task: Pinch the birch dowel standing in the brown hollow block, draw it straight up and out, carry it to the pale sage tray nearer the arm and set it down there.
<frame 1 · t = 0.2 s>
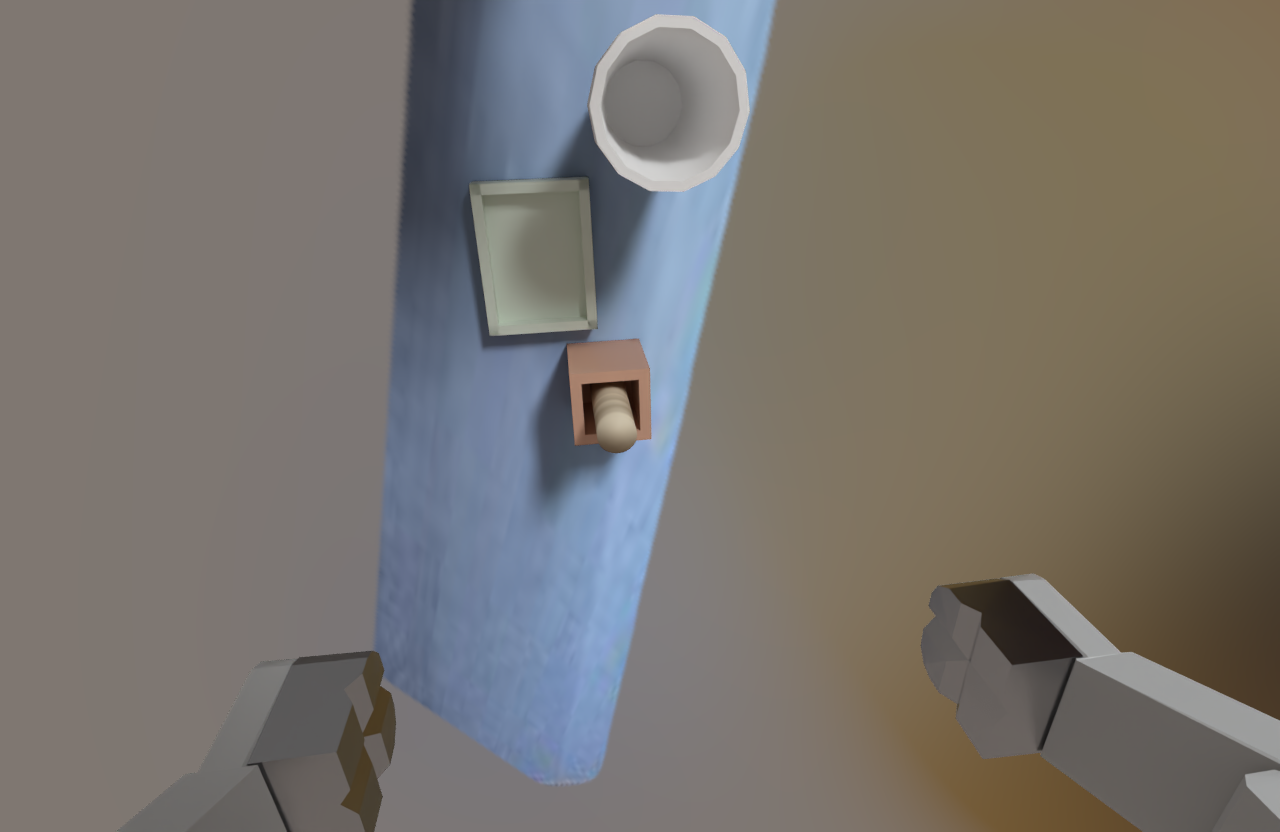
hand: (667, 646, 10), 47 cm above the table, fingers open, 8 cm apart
tray: (537, 256, 53), on the table
brown hollow block: (604, 374, 59), on the table
dowel: (605, 377, 58), point 1 cm above the table, touching brown hollow block
foam cup: (641, 104, 50), on the table
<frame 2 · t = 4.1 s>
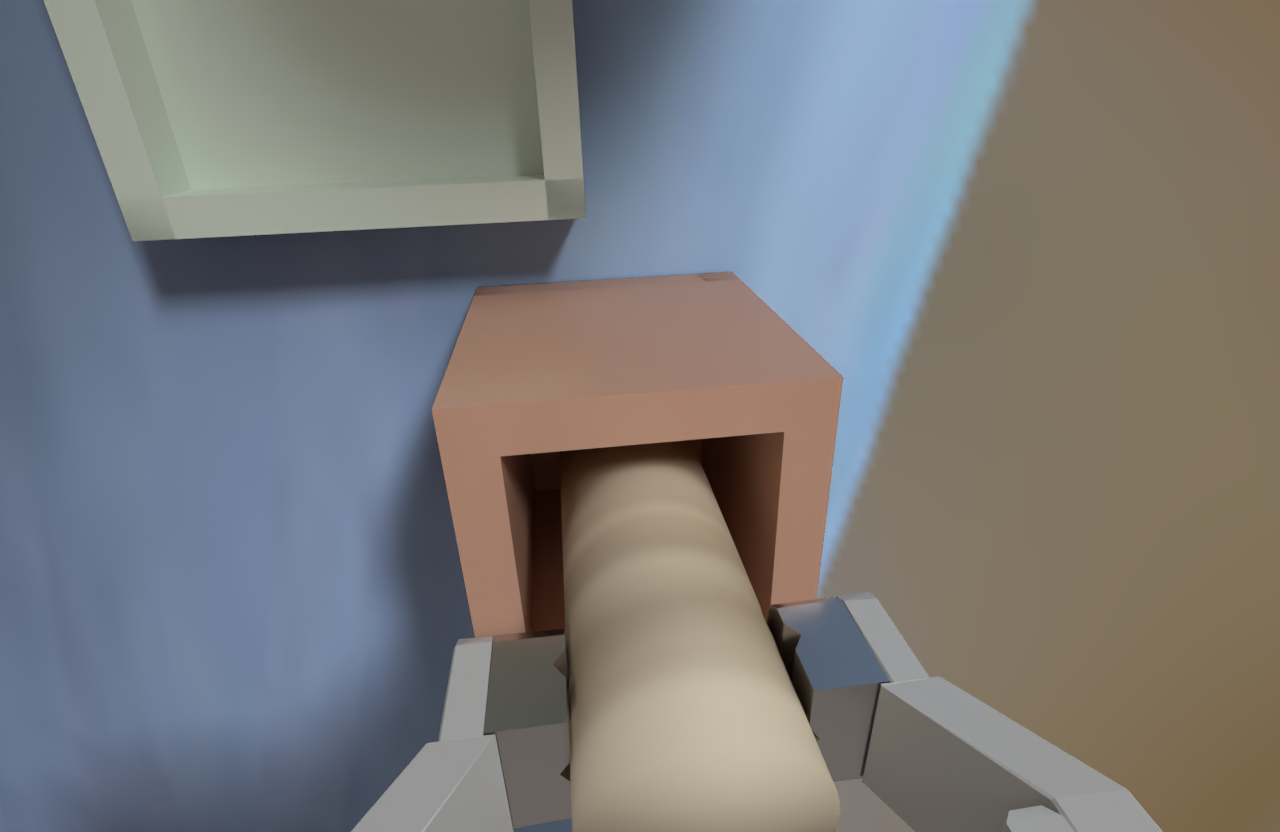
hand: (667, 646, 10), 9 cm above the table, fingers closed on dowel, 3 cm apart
brown hollow block: (613, 395, 18), on the table
dowel: (615, 408, 17), point 1 cm above the table, touching brown hollow block, gripper
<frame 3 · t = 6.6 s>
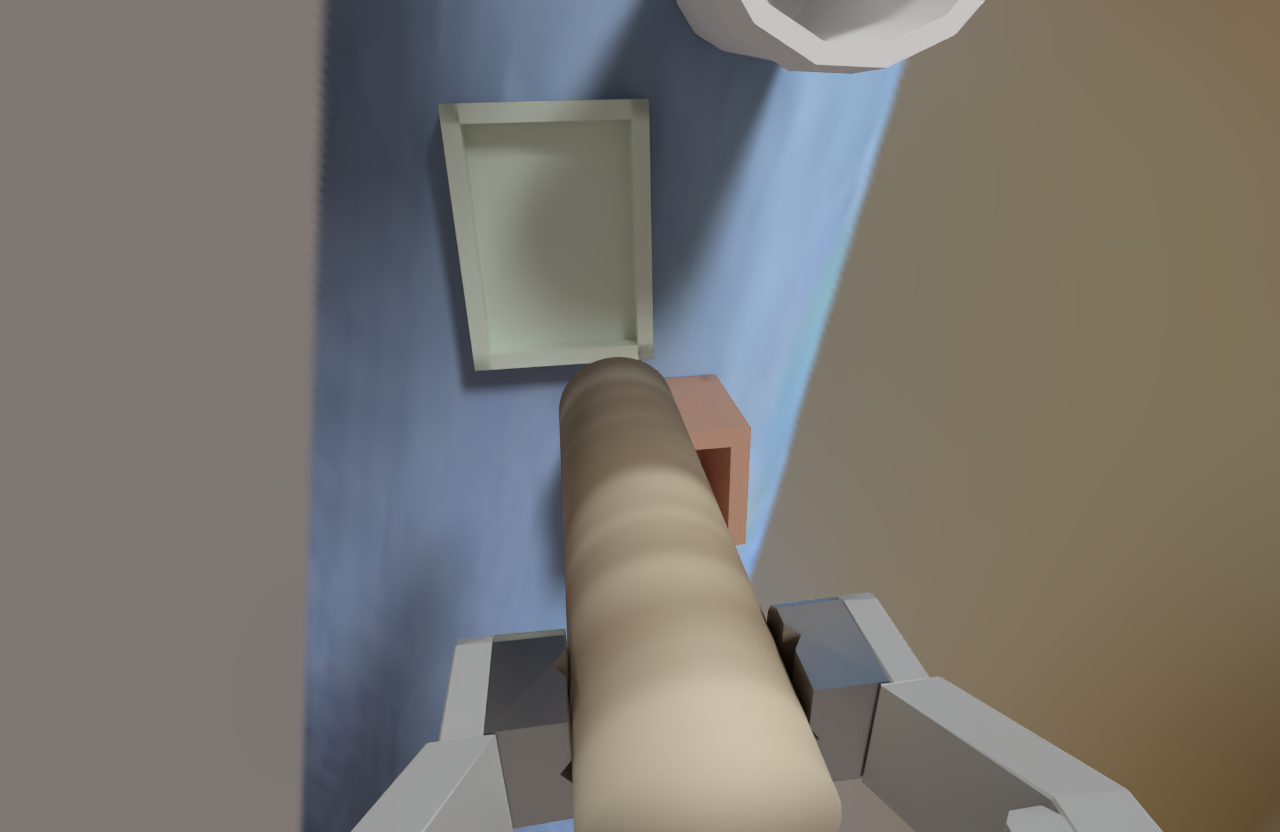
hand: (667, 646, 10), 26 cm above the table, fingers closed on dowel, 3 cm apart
tray: (555, 237, 32), on the table
brown hollow block: (659, 431, 37), on the table
dowel: (616, 410, 17), point 18 cm above the table, touching gripper
when the fingers open (10 cm above the table, at t = 9.2 s): dowel drops 1 cm, resting on tray.
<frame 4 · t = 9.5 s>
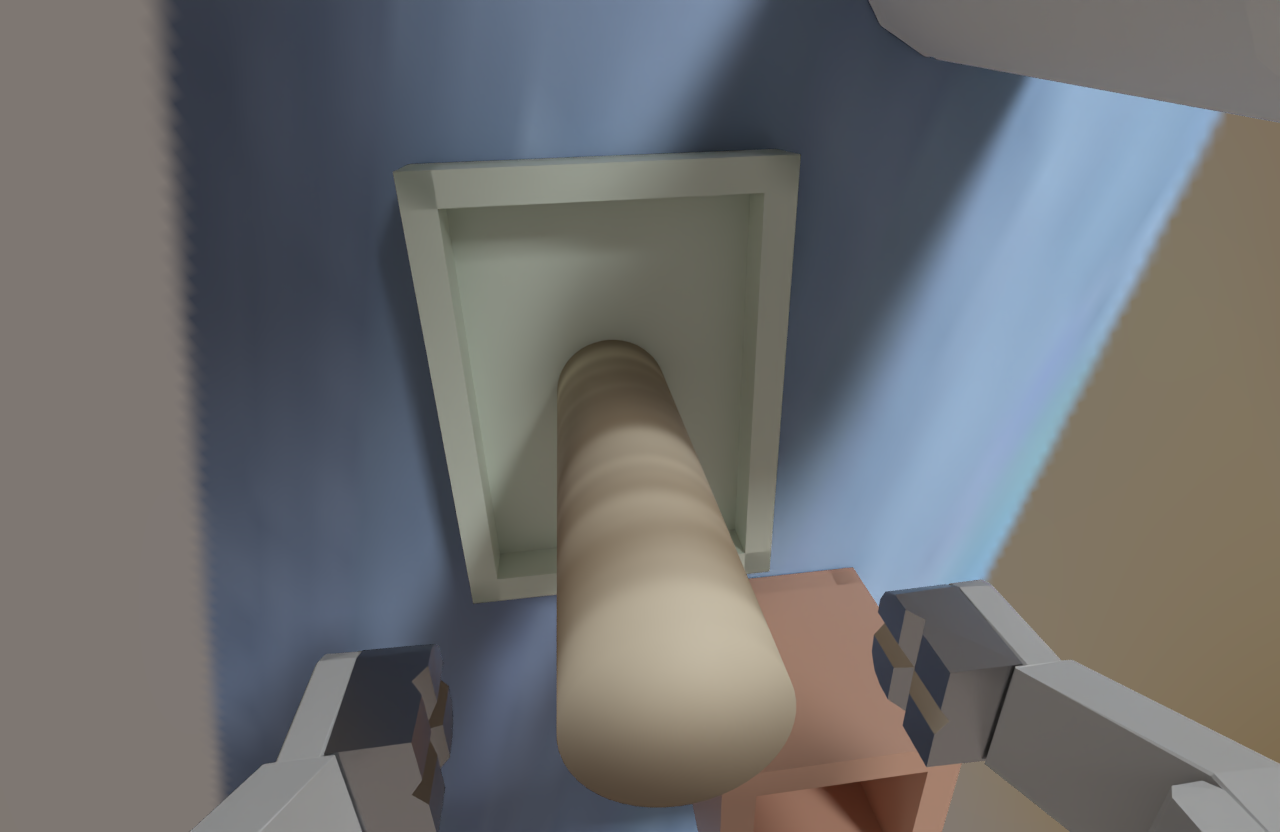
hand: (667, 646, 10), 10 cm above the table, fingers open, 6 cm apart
tray: (609, 381, 19), on the table
brown hollow block: (759, 645, 24), on the table
dowel: (611, 391, 18), point 1 cm above the table, touching tray
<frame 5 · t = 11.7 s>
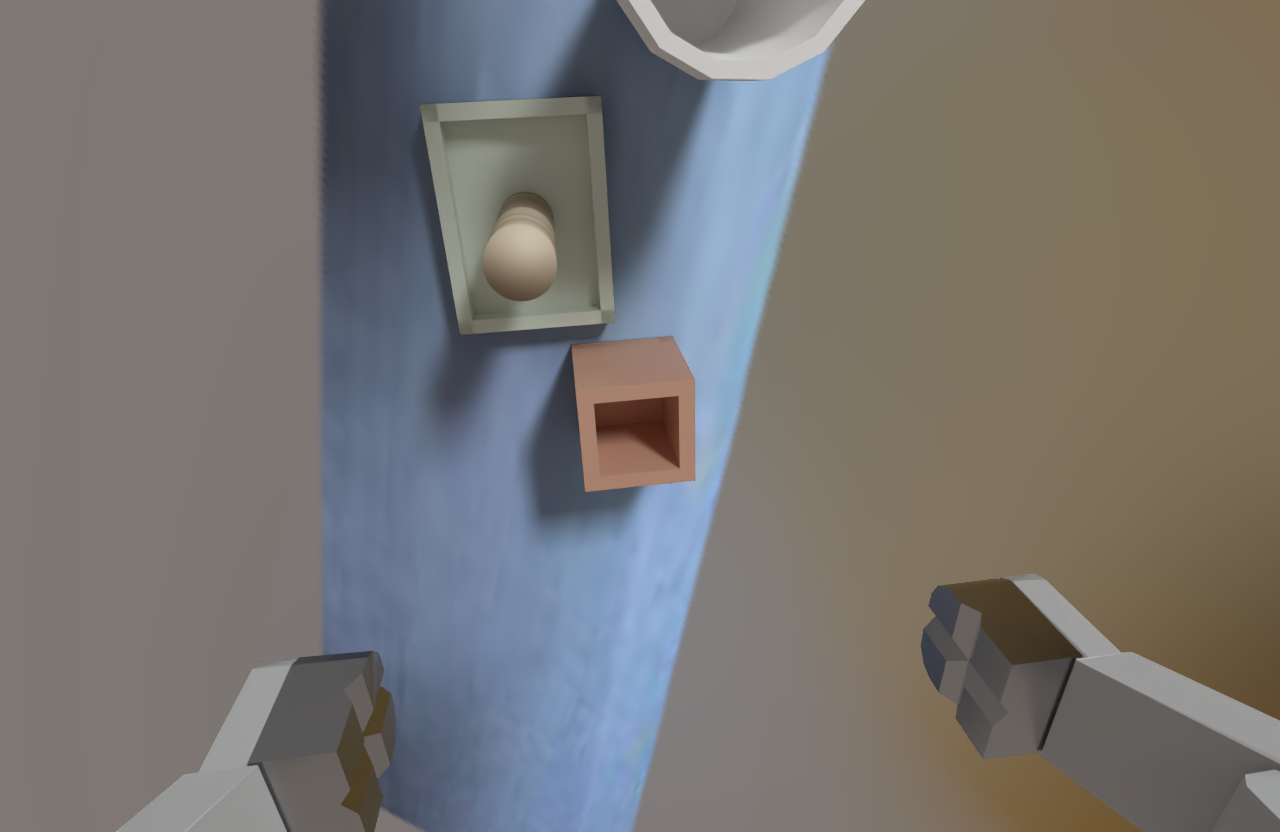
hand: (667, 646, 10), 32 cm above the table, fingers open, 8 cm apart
tray: (527, 217, 37), on the table
brown hollow block: (624, 386, 42), on the table
dowel: (526, 220, 36), point 1 cm above the table, touching tray
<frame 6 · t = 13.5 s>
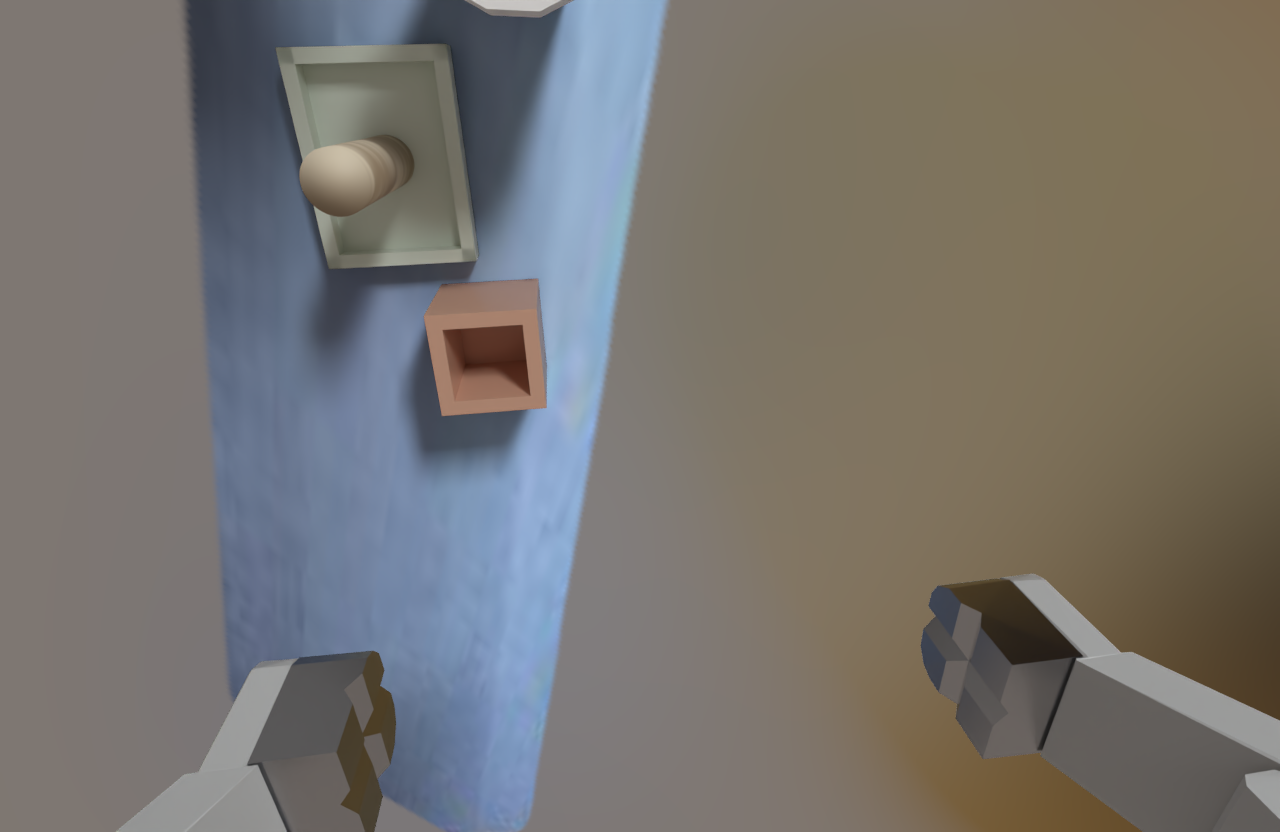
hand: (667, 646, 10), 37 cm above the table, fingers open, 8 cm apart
tray: (390, 160, 40), on the table
brown hollow block: (496, 326, 45), on the table
dowel: (388, 161, 39), point 1 cm above the table, touching tray
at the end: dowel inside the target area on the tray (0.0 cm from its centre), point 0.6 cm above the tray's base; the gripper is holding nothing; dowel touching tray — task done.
